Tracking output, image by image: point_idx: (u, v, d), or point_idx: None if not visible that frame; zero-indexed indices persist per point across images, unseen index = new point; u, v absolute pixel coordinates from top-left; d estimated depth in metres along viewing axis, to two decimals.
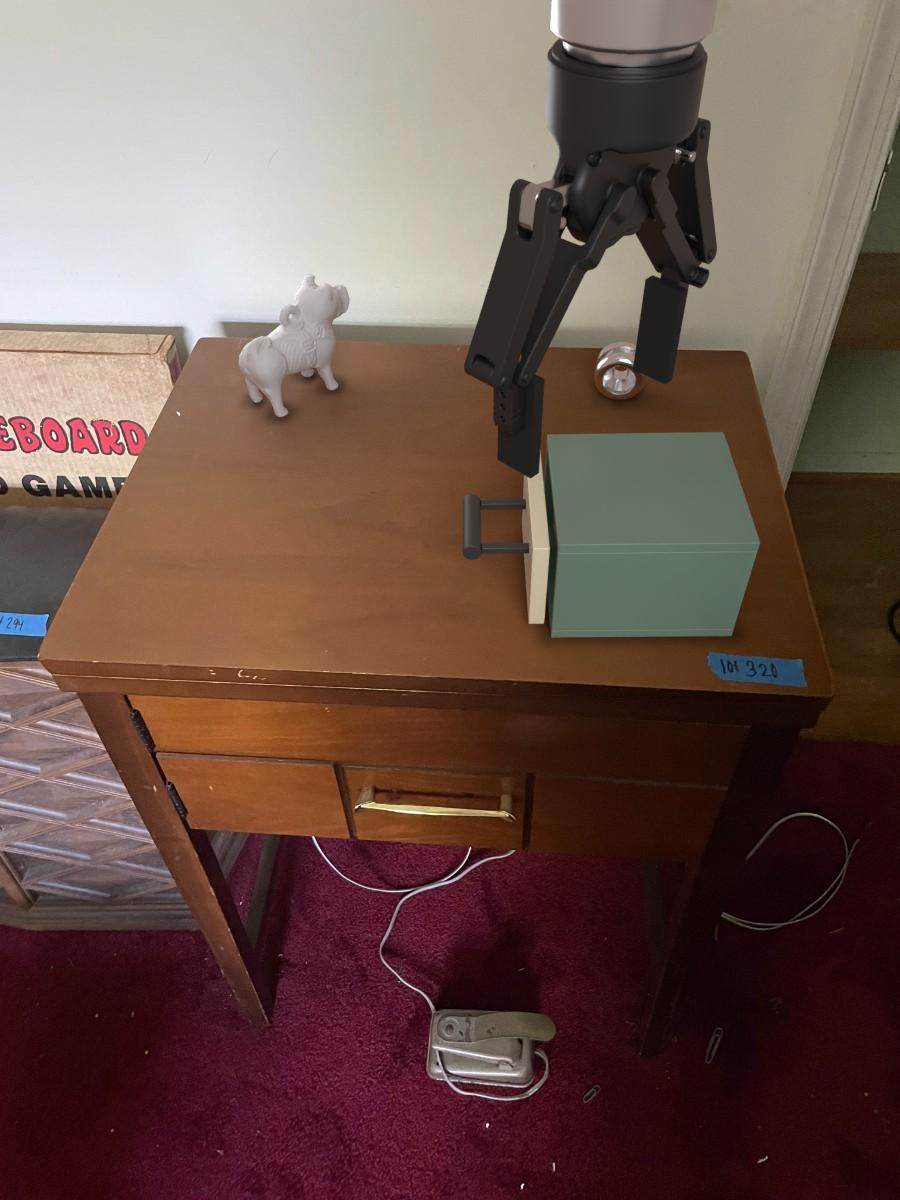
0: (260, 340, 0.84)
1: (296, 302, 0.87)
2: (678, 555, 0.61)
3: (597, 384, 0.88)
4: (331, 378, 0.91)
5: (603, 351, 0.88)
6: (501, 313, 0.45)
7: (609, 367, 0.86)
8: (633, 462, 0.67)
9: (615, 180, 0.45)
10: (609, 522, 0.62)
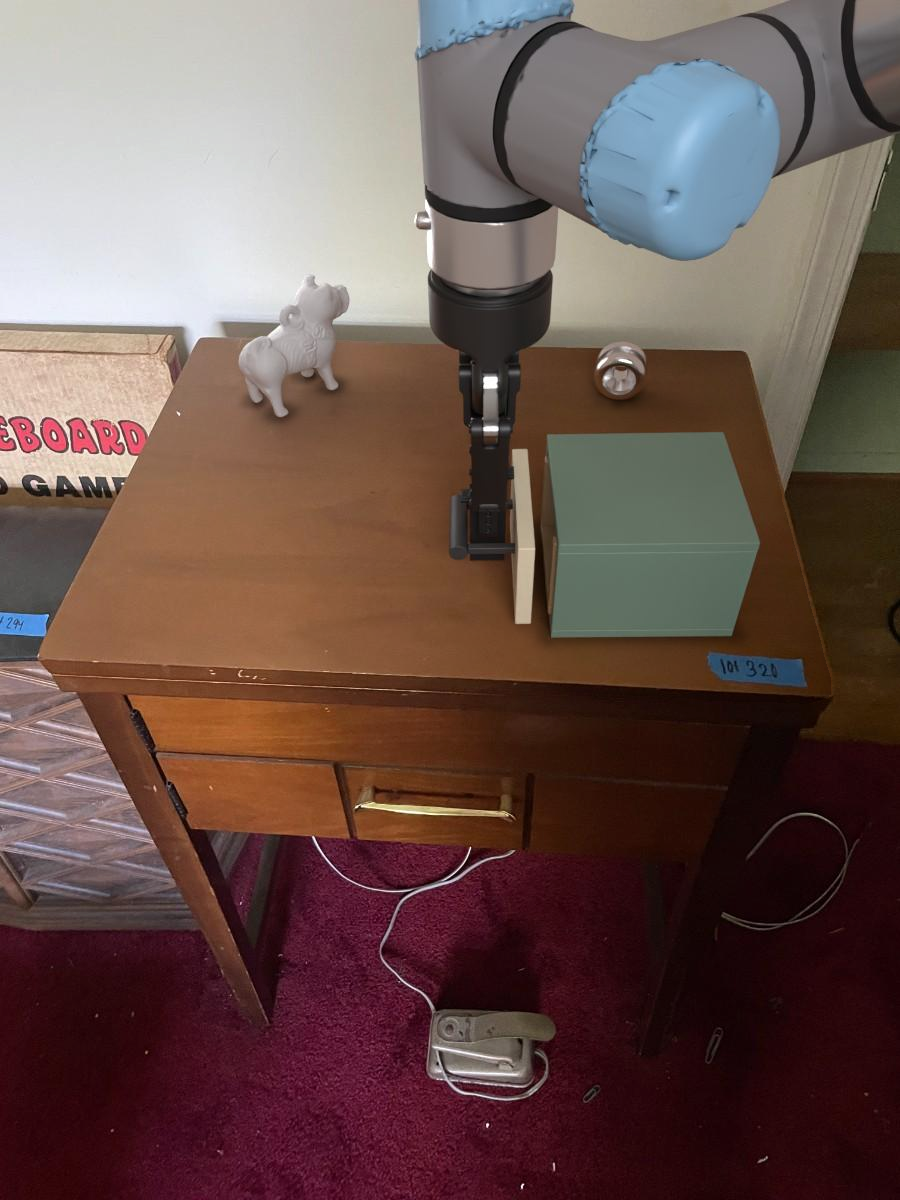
0: (260, 340, 0.84)
1: (296, 302, 0.87)
2: (678, 555, 0.61)
3: (597, 383, 0.88)
4: (331, 378, 0.91)
5: (603, 351, 0.88)
6: (491, 483, 0.60)
7: (609, 367, 0.86)
8: (633, 462, 0.67)
9: (507, 372, 0.56)
10: (609, 522, 0.62)
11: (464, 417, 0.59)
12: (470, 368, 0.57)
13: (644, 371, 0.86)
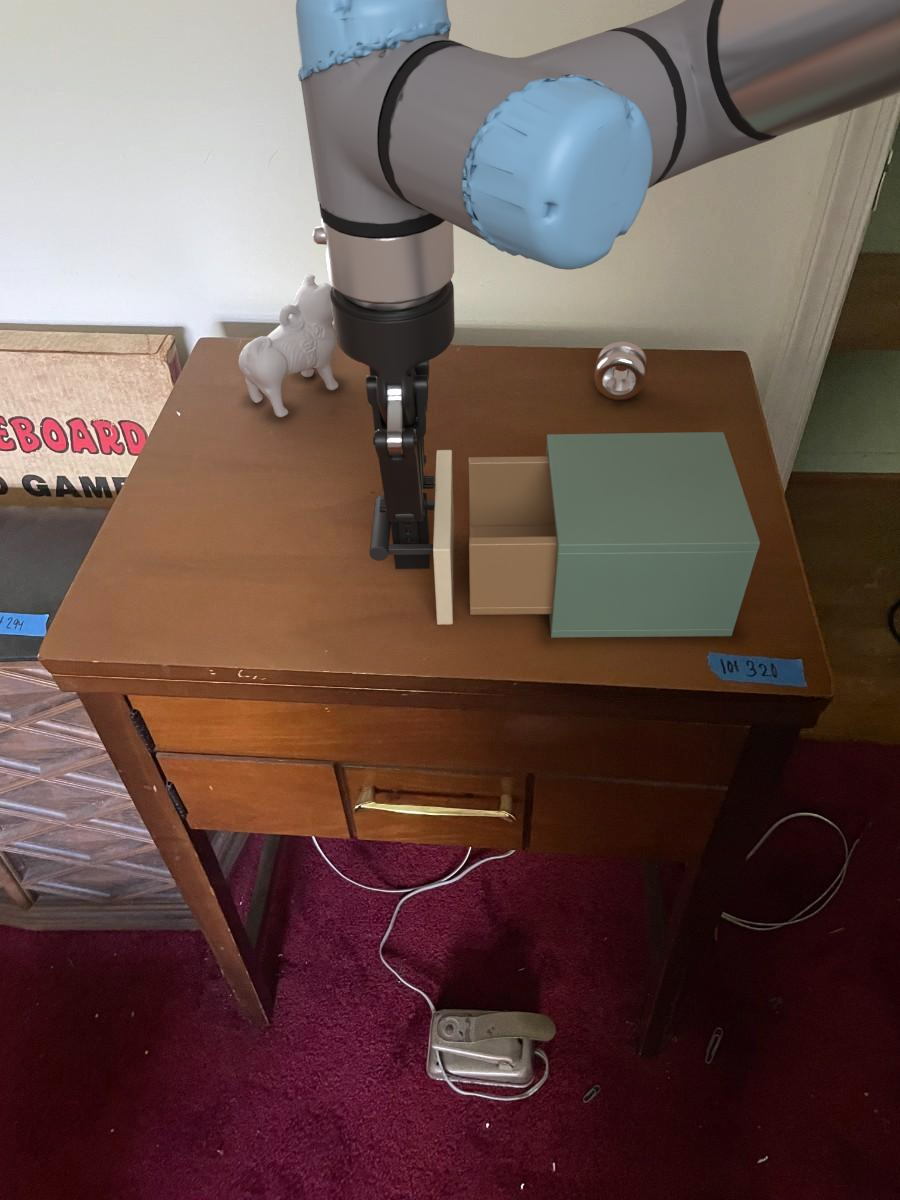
0: (260, 340, 0.84)
1: (296, 302, 0.87)
2: (678, 555, 0.61)
3: (597, 383, 0.88)
4: (331, 378, 0.91)
5: (603, 351, 0.88)
6: (403, 493, 0.60)
7: (609, 367, 0.86)
8: (633, 462, 0.67)
9: (414, 384, 0.57)
10: (609, 522, 0.62)
11: (375, 428, 0.60)
12: None
13: (644, 371, 0.86)
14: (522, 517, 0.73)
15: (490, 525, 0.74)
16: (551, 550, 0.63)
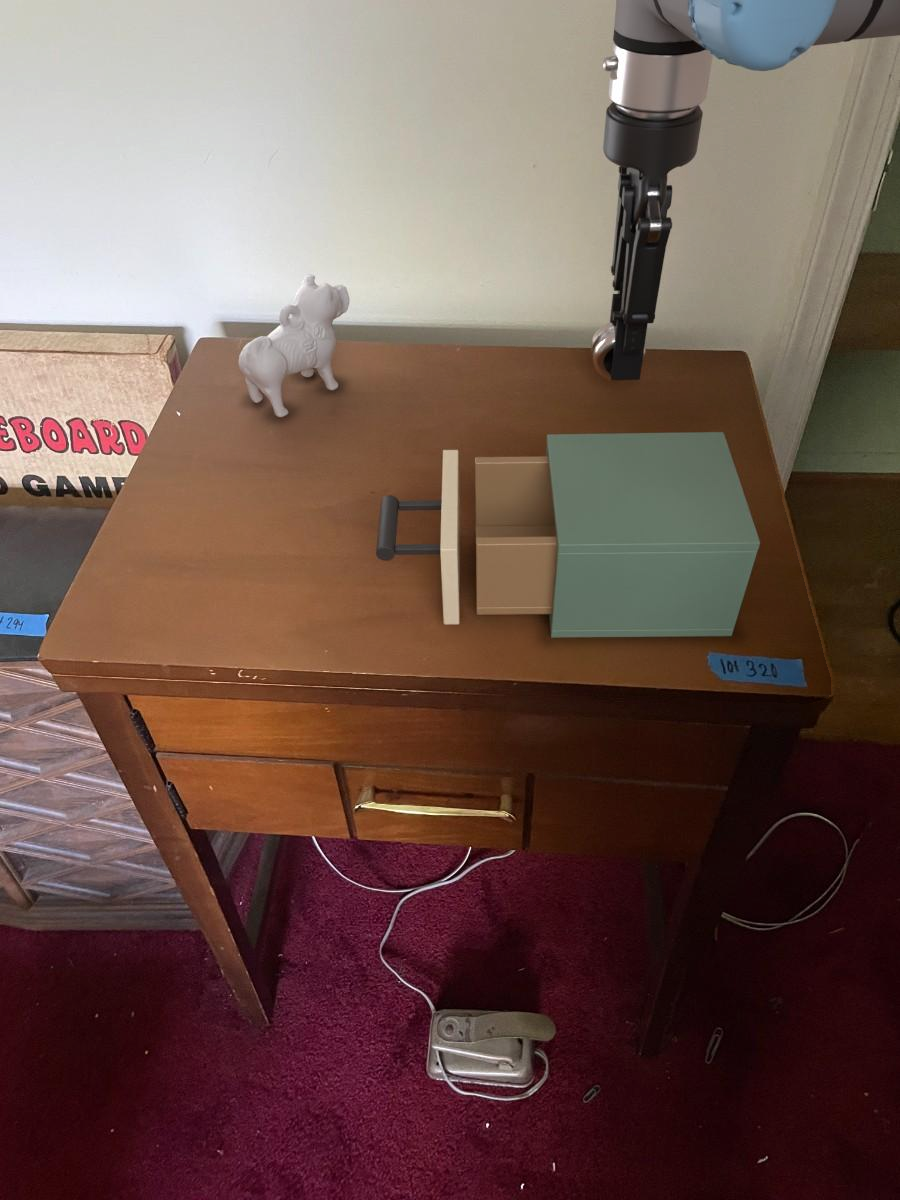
0: (260, 340, 0.84)
1: (296, 302, 0.87)
2: (678, 555, 0.61)
3: (598, 367, 0.86)
4: (331, 378, 0.91)
5: (598, 333, 0.86)
6: (646, 288, 0.76)
7: (609, 348, 0.84)
8: (633, 462, 0.67)
9: None
10: (609, 522, 0.62)
11: (625, 233, 0.76)
12: (633, 188, 0.74)
13: (644, 347, 0.85)
14: (528, 517, 0.73)
15: (496, 525, 0.74)
16: None
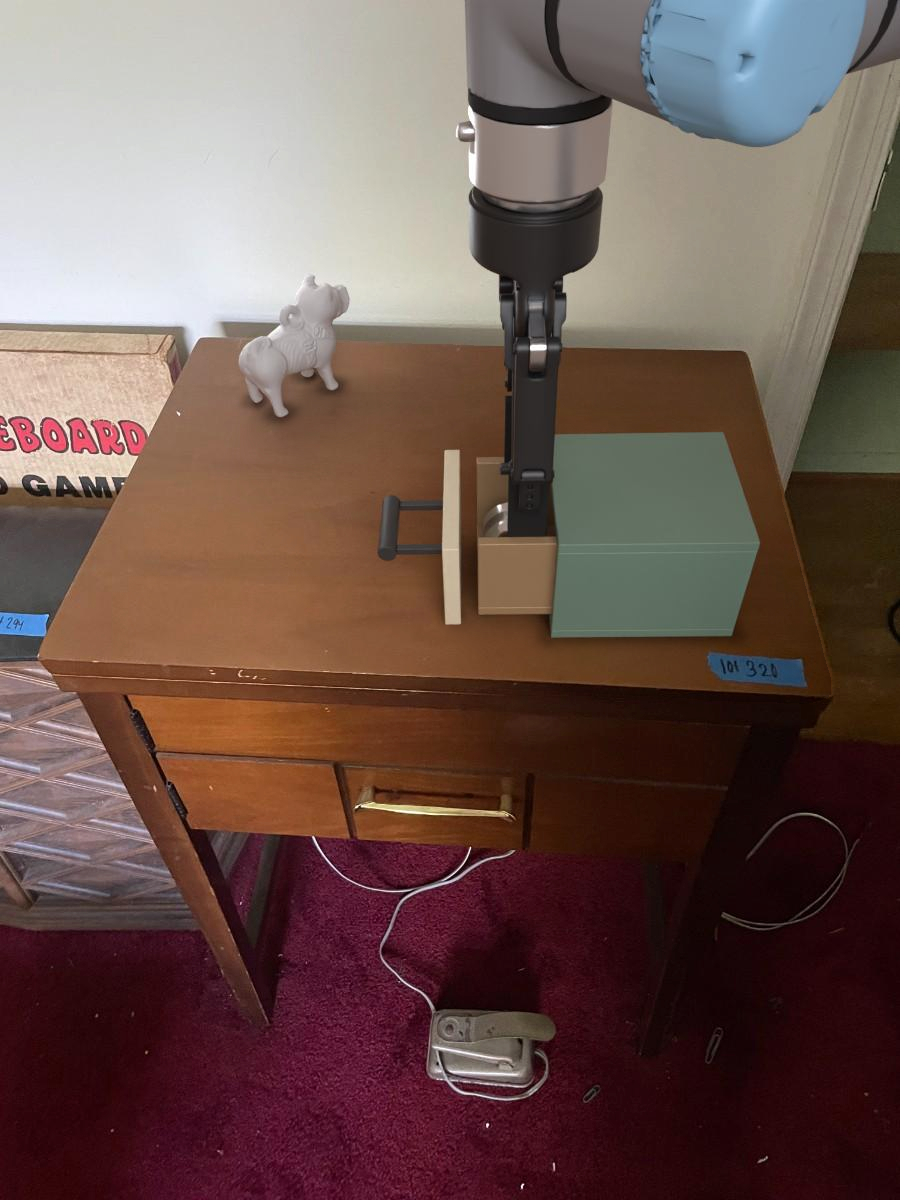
0: (260, 340, 0.84)
1: (296, 302, 0.87)
2: (678, 555, 0.61)
3: None
4: (331, 378, 0.91)
5: (490, 516, 0.68)
6: (536, 435, 0.54)
7: None
8: (633, 462, 0.67)
9: None
10: (609, 522, 0.62)
11: (505, 356, 0.54)
12: (512, 298, 0.53)
13: None
14: None
15: None
16: None
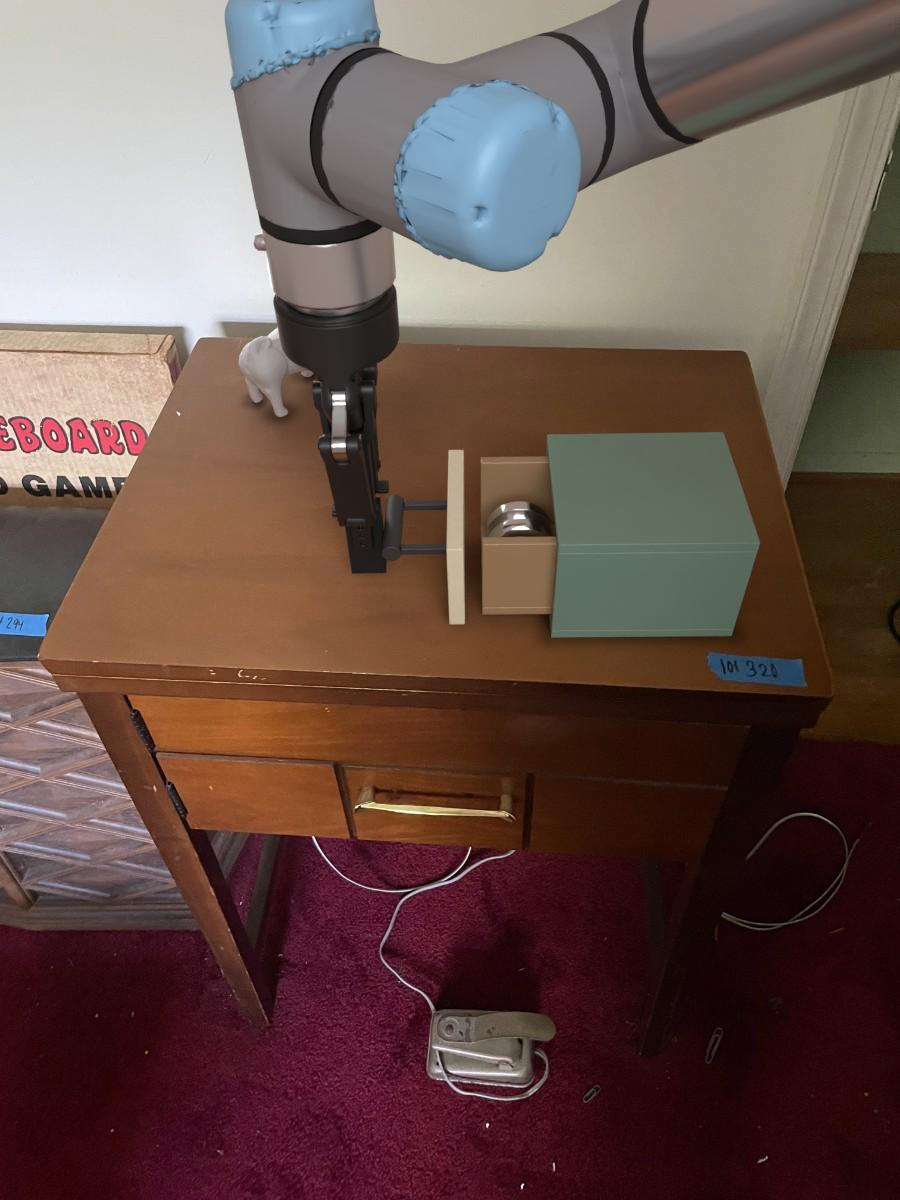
0: (260, 340, 0.84)
1: None
2: (678, 555, 0.61)
3: None
4: None
5: (494, 515, 0.68)
6: (352, 498, 0.60)
7: None
8: (633, 462, 0.67)
9: (360, 389, 0.57)
10: (609, 522, 0.62)
11: (323, 433, 0.60)
12: None
13: None
14: None
15: None
16: None
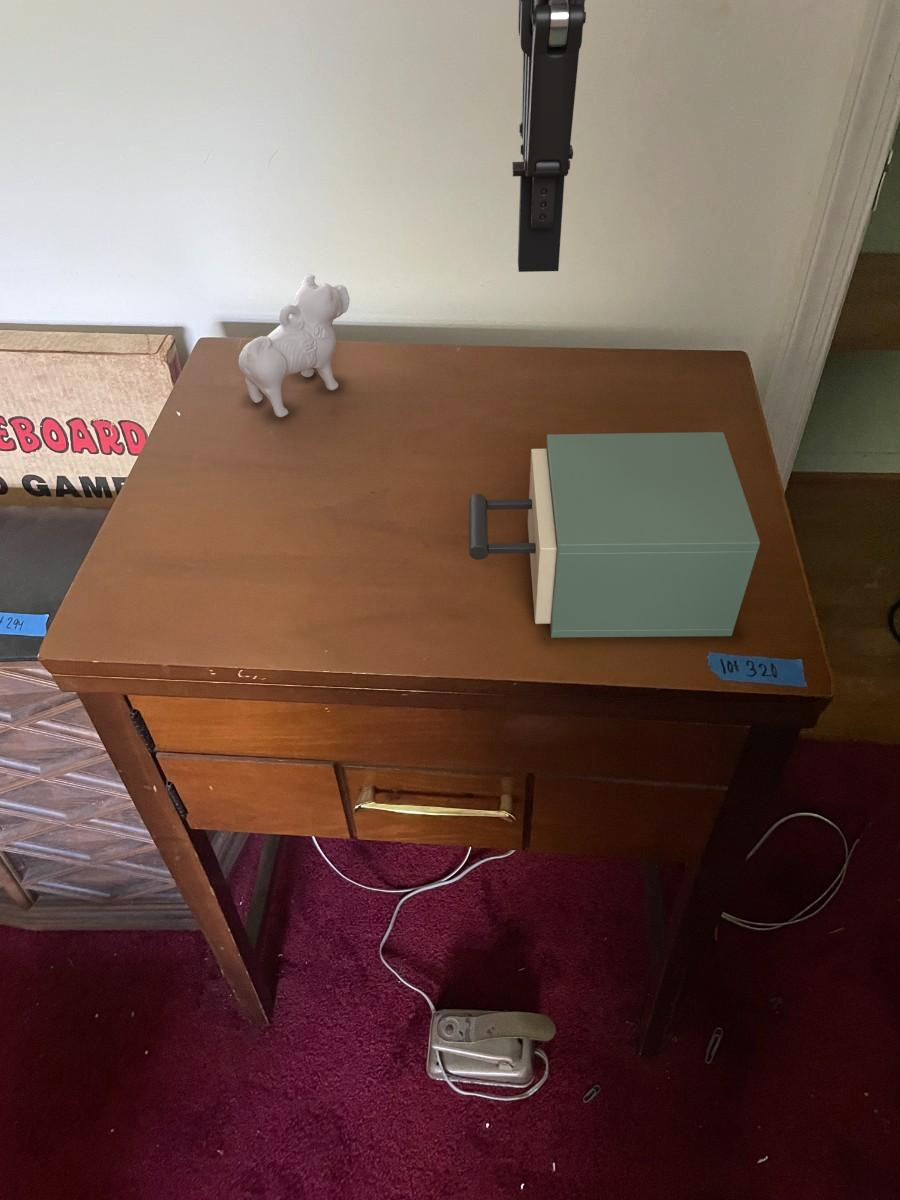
0: (260, 340, 0.84)
1: (296, 302, 0.87)
2: (678, 555, 0.61)
3: None
4: (331, 378, 0.91)
5: None
6: (553, 121, 0.51)
7: None
8: (633, 462, 0.67)
9: None
10: (609, 522, 0.62)
11: (522, 38, 0.50)
12: None
13: None
14: None
15: None
16: None
